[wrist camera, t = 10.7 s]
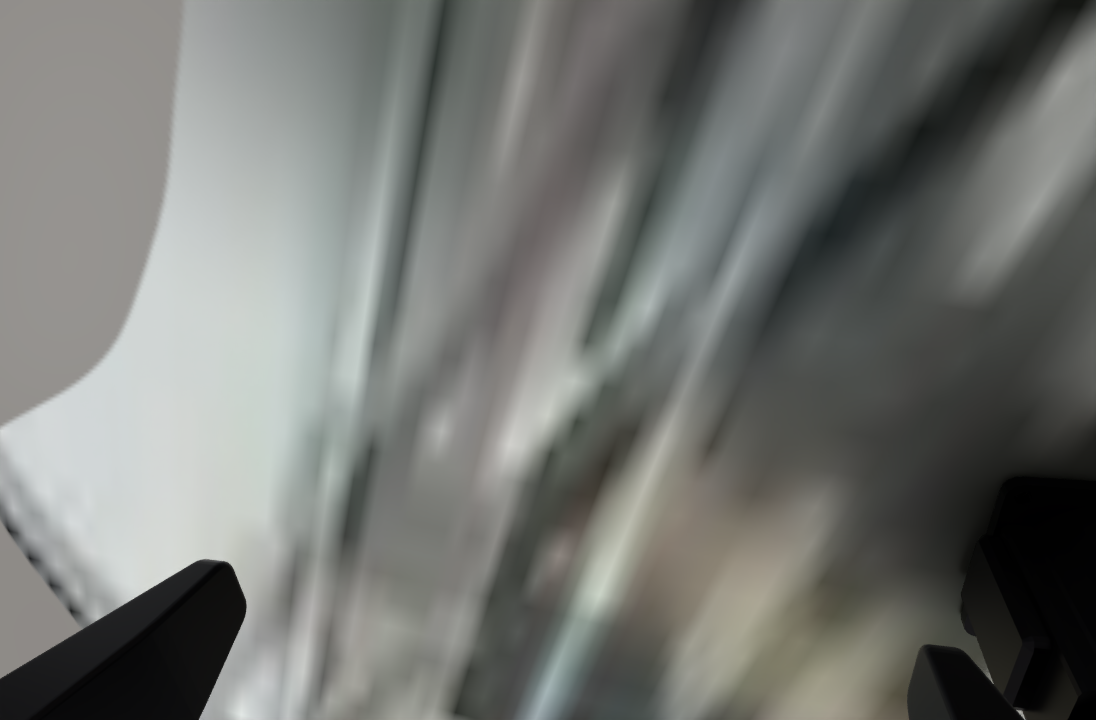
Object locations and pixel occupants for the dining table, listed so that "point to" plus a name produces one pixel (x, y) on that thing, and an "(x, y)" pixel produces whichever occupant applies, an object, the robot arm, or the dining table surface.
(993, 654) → the robot arm
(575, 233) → the dining table surface
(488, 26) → the dining table surface
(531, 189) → the dining table surface
